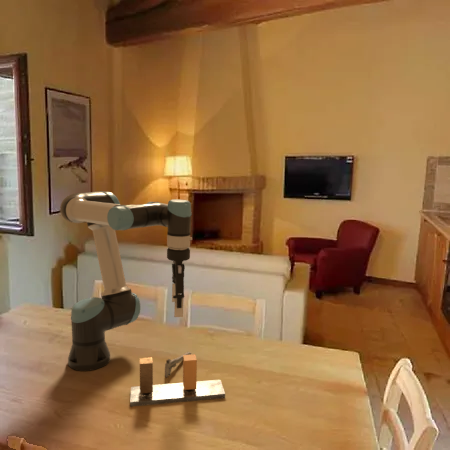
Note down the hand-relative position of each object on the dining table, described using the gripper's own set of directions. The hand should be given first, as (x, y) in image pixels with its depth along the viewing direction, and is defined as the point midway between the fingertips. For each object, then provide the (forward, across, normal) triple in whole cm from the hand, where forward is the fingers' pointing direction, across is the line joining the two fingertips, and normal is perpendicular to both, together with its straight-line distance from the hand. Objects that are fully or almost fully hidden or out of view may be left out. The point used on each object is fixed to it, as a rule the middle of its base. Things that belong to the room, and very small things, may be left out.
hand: (177, 308), depth 142 cm
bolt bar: (+26, -9, 0) cm, 28 cm away
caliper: (+27, +12, -2) cm, 30 cm away
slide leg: (+24, -8, -4) cm, 26 cm away
